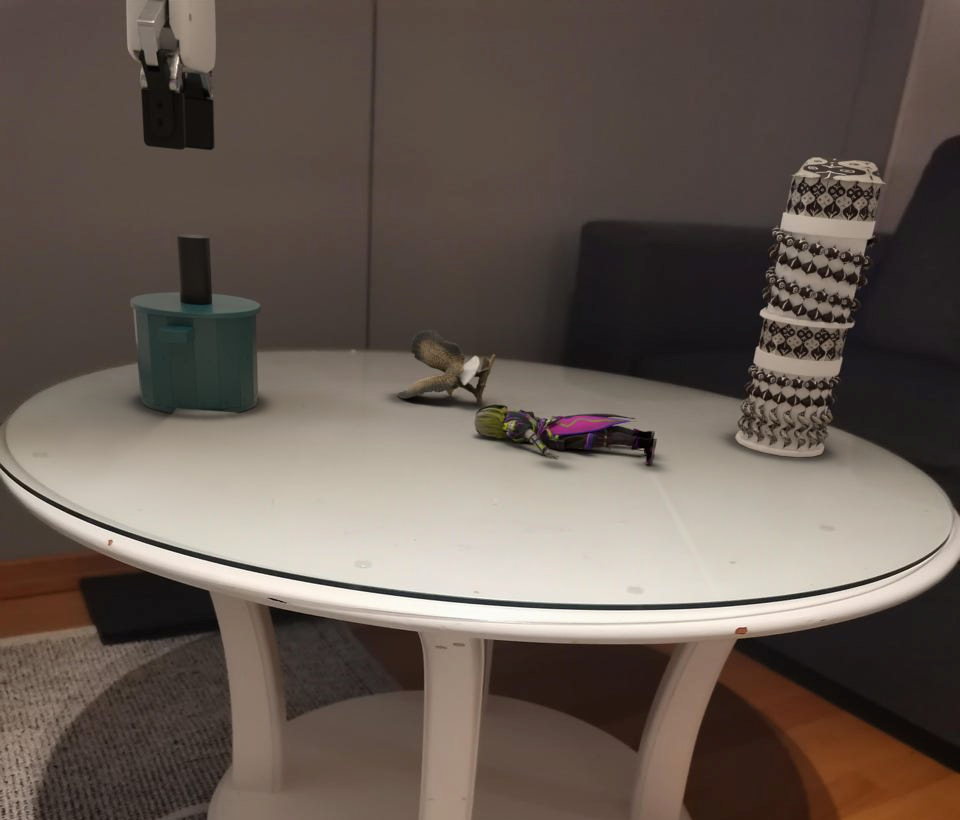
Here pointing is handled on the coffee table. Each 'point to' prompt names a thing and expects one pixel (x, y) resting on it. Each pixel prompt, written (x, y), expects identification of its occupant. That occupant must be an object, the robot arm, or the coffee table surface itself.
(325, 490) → the coffee table surface
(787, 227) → the decorative candle
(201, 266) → the lid
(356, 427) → the coffee table surface
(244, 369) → the pot
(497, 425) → the character figure
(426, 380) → the eagle figurine
